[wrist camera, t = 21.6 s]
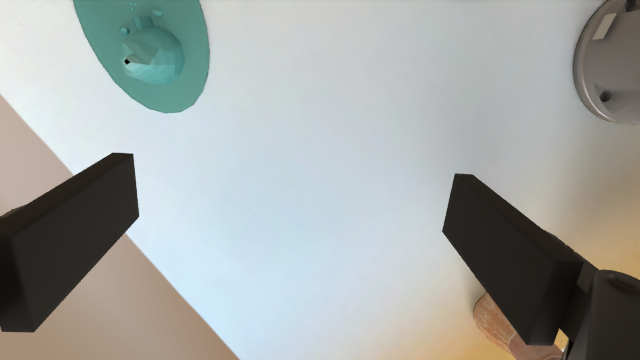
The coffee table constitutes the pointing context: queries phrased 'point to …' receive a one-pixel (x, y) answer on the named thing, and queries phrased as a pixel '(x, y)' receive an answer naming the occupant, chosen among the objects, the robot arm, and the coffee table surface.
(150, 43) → the diorama
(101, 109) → the coffee table surface
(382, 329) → the coffee table surface
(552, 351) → the vase
